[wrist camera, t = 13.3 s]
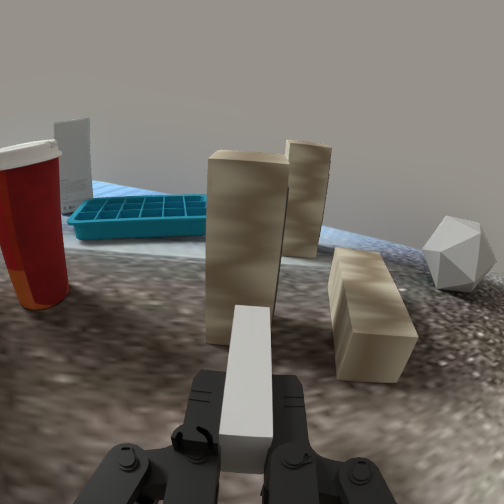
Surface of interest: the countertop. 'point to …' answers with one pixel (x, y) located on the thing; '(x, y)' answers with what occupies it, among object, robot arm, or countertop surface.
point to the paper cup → (33, 223)
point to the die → (458, 255)
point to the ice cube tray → (140, 216)
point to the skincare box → (74, 163)
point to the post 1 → (243, 235)
